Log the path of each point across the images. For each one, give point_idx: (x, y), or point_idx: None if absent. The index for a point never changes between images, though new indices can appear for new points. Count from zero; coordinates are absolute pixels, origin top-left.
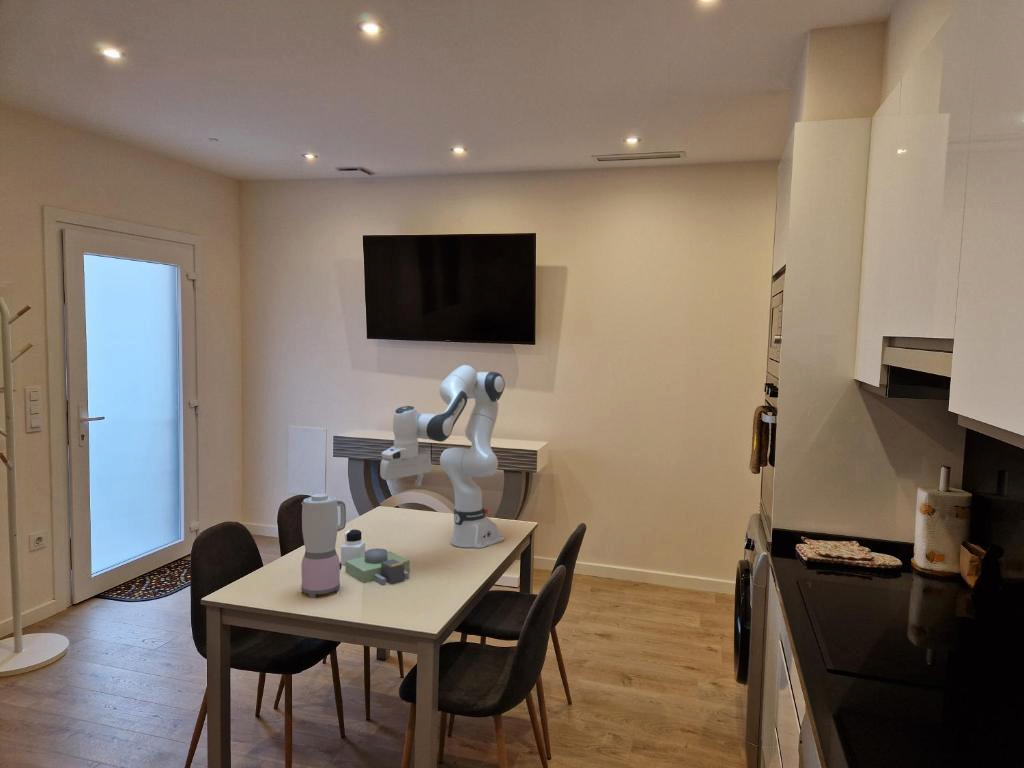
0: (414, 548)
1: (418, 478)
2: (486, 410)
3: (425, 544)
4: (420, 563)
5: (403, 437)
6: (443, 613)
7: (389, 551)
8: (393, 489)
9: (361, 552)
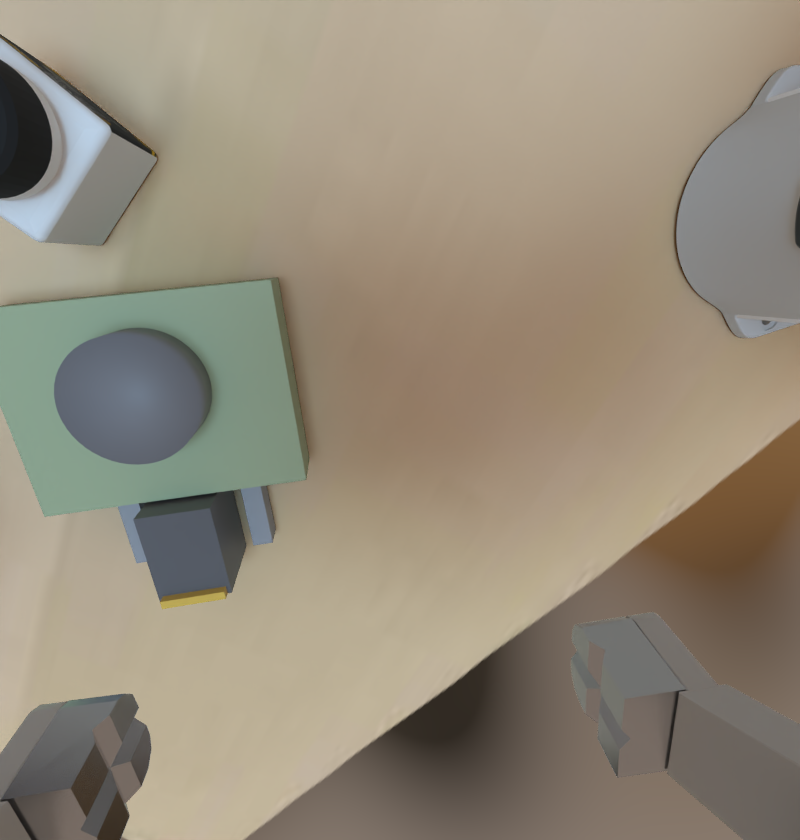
0: (490, 124)
1: (738, 760)
2: None
3: (579, 86)
4: (399, 383)
5: None
6: (259, 806)
7: (266, 282)
8: (40, 717)
9: (89, 212)
